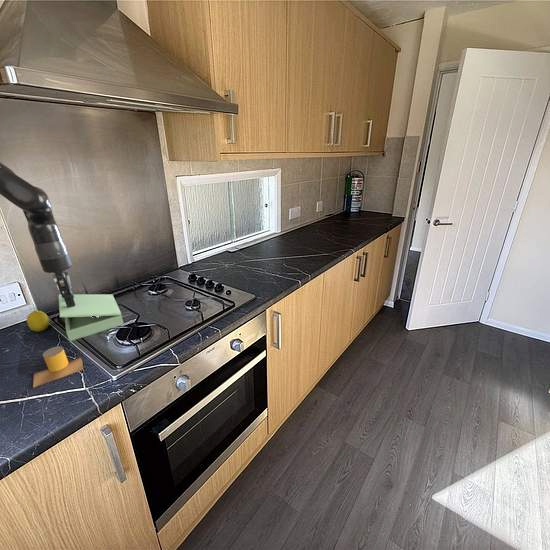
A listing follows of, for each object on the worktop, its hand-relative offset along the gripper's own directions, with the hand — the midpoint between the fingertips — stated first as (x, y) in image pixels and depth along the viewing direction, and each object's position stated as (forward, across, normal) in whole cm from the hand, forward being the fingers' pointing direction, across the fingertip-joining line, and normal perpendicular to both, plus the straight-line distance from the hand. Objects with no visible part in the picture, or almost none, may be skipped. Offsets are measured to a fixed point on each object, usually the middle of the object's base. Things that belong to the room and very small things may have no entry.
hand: (71, 302), depth 96 cm
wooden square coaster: (+10, +20, -6) cm, 23 cm away
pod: (+9, +20, -6) cm, 23 cm away
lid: (+3, 0, +4) cm, 5 cm away
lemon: (+10, -5, -10) cm, 15 cm away
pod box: (+10, 0, +4) cm, 11 cm away
